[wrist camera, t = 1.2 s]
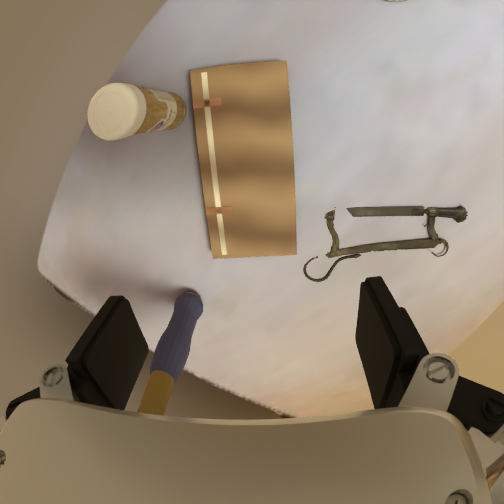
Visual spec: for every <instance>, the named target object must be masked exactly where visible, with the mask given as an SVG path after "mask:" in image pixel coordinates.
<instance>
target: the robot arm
mask: <svg viewBox="0 0 504 504" xmlns="http://www.w3.org/2000/svg"><path fill="white" fill-rule="evenodd" d="M386 1H393V2H402V1H407V0H386ZM356 344H357V348H358V351H359V354H360V358H361V361H362V364H363V368H364V371H365V375H366V378H367V382H368V386H369V389H370V393H371V397H372V401H373V404H374V408H375V409H373V410H365V411H357V412H350V413H343V414H334V415H325V416H314V417H303V418H289V419H269V420H216V419H195V418H181V417H171V416H162V415H153V414H145V413H138V412H131V411H125V410H124V409H125V406H126V404H127V402H128V399H129V397H130V394H131V392H132V389H133V387H134V385H135V382H136V380H137V378H138V375H139V373H140V371H141V368H142V366H143V364H144V361H145V359H146V357H147V354H148V345H147V342H146V340H145V338H144V336H143V334H142V331H141V329H140V327H139V325H138V322H137V320H136V318H135V315H134V313H133V310H132V308H131V305H130V303H129V301H128V300H127V299H125V297H124V296H110V297H109V298H108V300H107V301H106V302H105V304H104V305H103V306H102V308H101V309H100V310H99V312H98V313H97V315H96V316H95V317H94V319H93V320H92V322H91V323H90V324H89V326H88V327H87V329H86V330H85V332H84V333H83V335H82V336H81V337H80V339H79V340H78V342H77V343H76V345H75V346H74V348H73V349H72V351H71V352H70V354H69V355H68V357H67V358H66V362H67V363H68V367H67V368H66V367H65V366H64V365H61V364H55V365H52V366H50V367H48V368H47V369H46V370H45V371H44V372H43V373H42V375H41V377H40V381H39V385H40V387H38V388H36V389H34V390H32V391H30V392H28V393H26V394H24V395H22V396H20V397H18V398H16V399H14V400H12V401H11V402H10V403H9V405H8V407H7V410H6V417H5V416H4V415H3V416H1V417H0V504H504V394H502V393H501V392H499V391H496V390H493V389H491V388H488V387H486V386H483V385H481V384H478V383H476V382H473V381H471V380H468V379H466V378H463V377H461V376H459V368H458V365H457V363H456V362H455V360H454V359H452V358H451V357H450V356H448V355H446V354H442V353H432V354H429V352H428V350H427V348H426V346H425V344H424V342H423V340H422V338H421V337H420V335H419V333H418V331H417V329H416V327H415V325H414V324H413V322H412V320H411V318H410V316H409V315H408V313H407V311H406V310H405V308H403V307H398V305H397V303H396V301H395V300H394V298H393V296H392V294H391V293H390V291H389V289H388V287H387V286H386V284H385V282H384V281H383V279H382V277H381V276H378V277H369V278H366V280H365V282H362V283H361V287H360V299H359V309H358V318H357V327H356ZM482 464H483V466H484V467H485V468H486V473H487V476H485V473H484V470H483V467H482Z"/></svg>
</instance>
